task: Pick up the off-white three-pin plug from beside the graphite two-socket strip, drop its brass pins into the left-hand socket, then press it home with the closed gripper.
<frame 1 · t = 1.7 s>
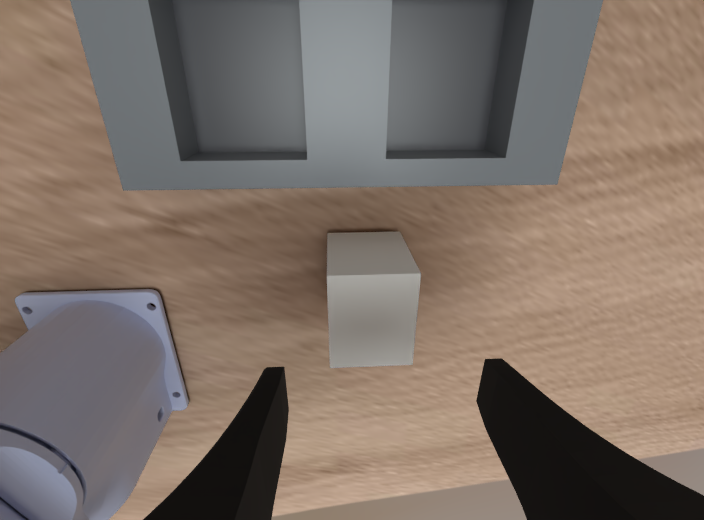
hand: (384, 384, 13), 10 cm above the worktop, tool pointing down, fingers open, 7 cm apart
socket strip: (343, 79, 17), on the worktop
plug: (362, 266, 21), on the worktop
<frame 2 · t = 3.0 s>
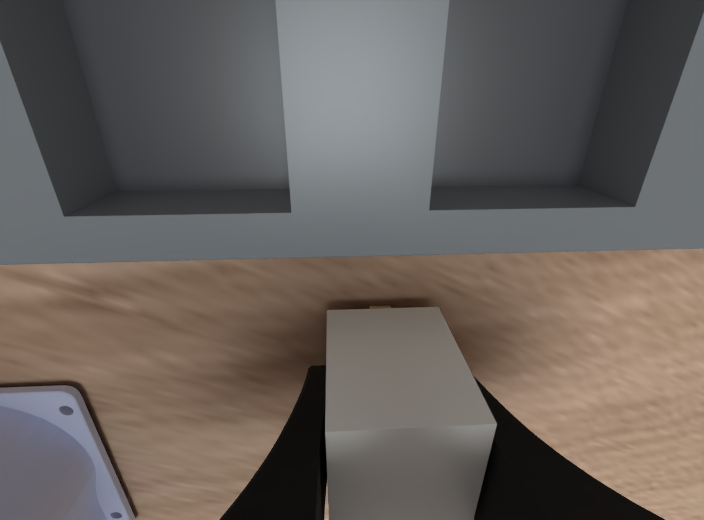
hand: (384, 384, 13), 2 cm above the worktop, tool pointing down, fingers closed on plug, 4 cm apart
socket strip: (354, 71, 10), on the worktop
plug: (378, 349, 15), on the worktop, touching gripper
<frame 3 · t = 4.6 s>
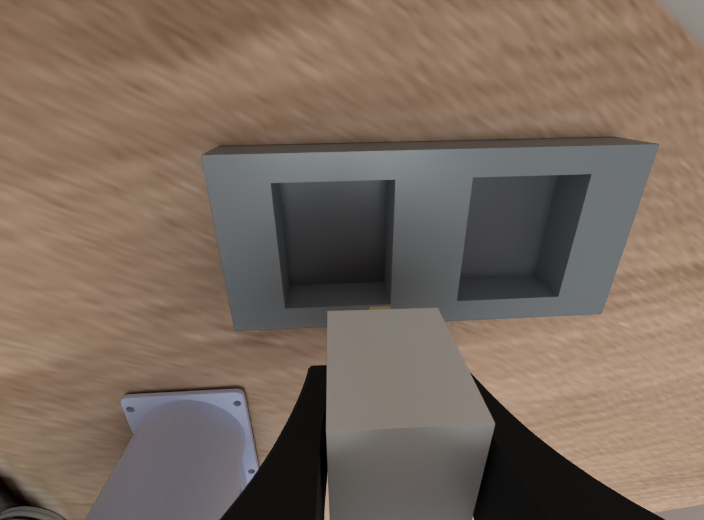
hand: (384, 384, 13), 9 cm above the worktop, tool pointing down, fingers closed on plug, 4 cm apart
socket strip: (416, 225, 20), on the worktop
plug: (378, 349, 15), point 7 cm above the worktop, touching gripper
when the fingers open (3 cm above the worktop, at t = 6.3 s): plug stays where it is, resting on socket strip.
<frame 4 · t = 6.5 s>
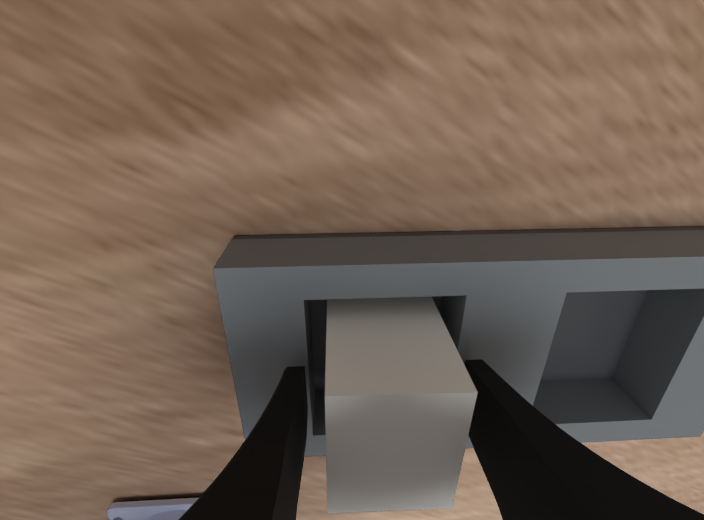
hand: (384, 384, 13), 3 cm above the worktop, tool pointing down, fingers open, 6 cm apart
socket strip: (473, 324, 16), on the worktop
plug: (374, 334, 16), resting on socket strip
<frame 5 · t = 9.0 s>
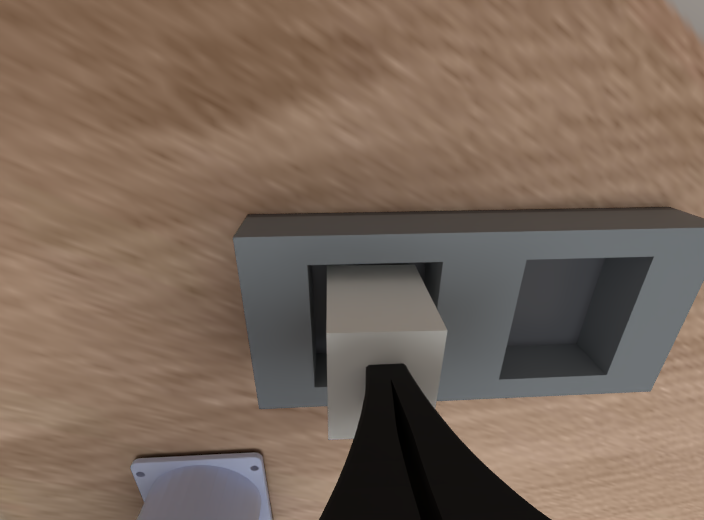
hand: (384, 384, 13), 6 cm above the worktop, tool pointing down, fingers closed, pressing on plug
socket strip: (453, 294, 19), on the worktop
plug: (367, 302, 18), resting on socket strip, touching gripper
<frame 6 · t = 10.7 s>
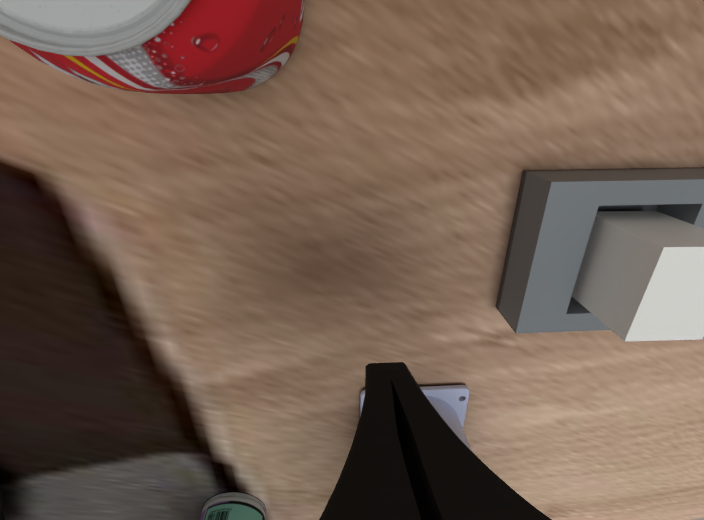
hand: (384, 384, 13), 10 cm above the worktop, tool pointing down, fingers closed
socket strip: (665, 240, 22), on the worktop
spray can: (235, 508, 32), on the worktop
soda can: (229, 6, 16), on the worktop
plug: (598, 246, 22), resting on socket strip
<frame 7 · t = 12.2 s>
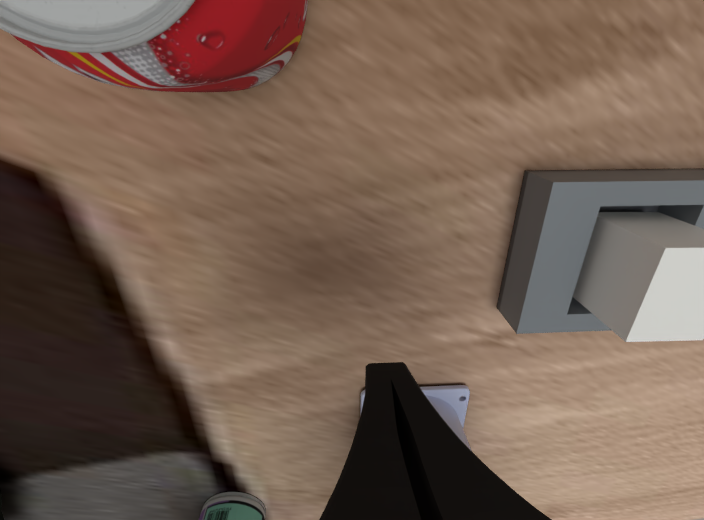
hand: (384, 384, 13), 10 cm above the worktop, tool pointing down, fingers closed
socket strip: (666, 241, 22), on the worktop
spray can: (235, 508, 32), on the worktop
soda can: (232, 4, 16), on the worktop
plug: (599, 247, 22), resting on socket strip
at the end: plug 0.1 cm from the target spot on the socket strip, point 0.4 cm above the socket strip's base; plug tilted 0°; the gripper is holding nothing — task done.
